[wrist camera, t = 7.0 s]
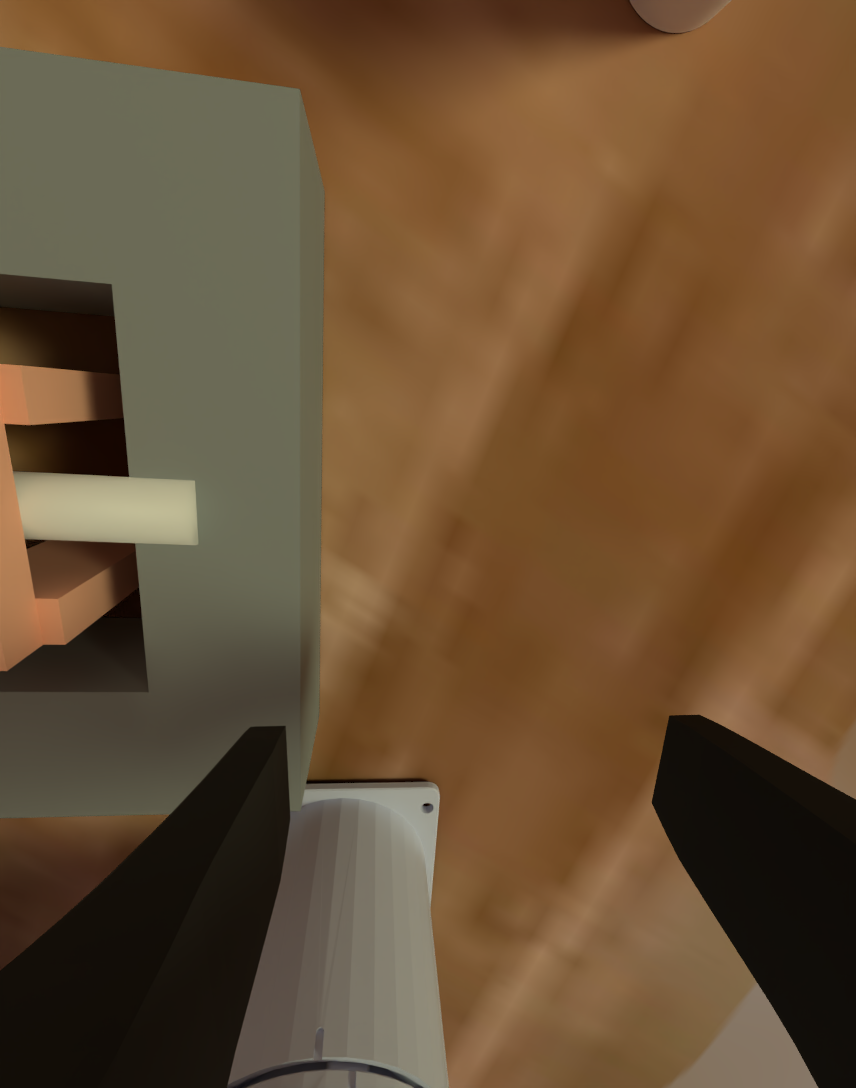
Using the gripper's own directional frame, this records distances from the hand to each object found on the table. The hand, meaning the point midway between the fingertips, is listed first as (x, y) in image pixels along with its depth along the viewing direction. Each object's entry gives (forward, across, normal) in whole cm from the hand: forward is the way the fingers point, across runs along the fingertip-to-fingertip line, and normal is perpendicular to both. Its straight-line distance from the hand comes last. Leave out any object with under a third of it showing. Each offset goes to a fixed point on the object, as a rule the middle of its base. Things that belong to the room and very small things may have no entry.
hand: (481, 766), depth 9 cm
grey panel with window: (+10, +11, -4) cm, 15 cm away
